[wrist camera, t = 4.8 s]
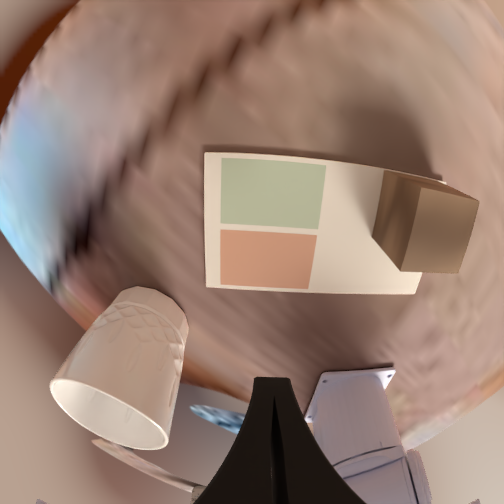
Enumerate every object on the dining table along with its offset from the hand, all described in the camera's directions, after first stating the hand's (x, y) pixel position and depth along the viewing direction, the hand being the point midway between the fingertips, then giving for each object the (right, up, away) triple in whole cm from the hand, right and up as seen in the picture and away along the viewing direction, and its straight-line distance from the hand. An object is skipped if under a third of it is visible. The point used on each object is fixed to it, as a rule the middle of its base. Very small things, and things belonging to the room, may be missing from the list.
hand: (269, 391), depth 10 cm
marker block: (+9, +8, +6) cm, 14 cm away
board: (+4, +7, +7) cm, 11 cm away
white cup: (-9, 0, +11) cm, 14 cm away
